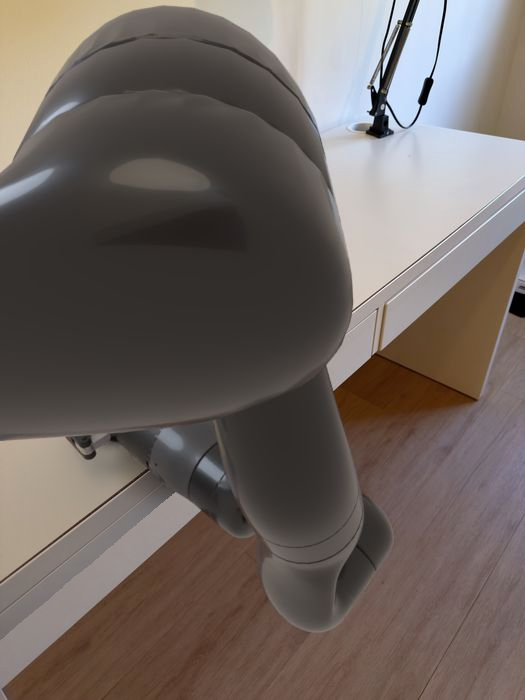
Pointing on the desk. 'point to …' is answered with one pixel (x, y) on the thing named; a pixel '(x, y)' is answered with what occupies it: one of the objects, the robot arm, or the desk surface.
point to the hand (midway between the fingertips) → (87, 368)
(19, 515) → the desk surface
